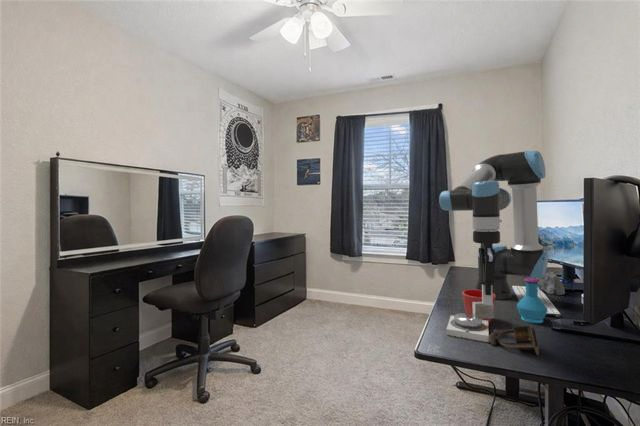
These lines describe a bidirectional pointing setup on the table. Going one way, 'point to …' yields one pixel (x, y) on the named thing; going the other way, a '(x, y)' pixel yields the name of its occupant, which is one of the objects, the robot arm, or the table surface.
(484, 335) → the dial housing
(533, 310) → the perfume bottle
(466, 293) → the flower pot
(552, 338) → the table surface
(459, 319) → the dial
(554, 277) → the mineral rock
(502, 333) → the brown piece
